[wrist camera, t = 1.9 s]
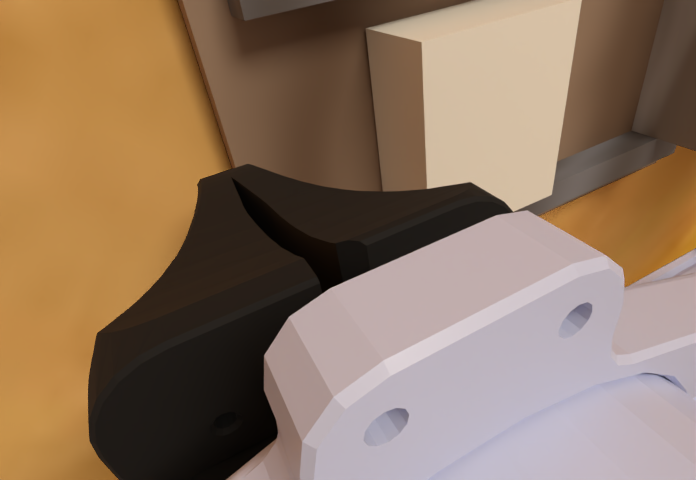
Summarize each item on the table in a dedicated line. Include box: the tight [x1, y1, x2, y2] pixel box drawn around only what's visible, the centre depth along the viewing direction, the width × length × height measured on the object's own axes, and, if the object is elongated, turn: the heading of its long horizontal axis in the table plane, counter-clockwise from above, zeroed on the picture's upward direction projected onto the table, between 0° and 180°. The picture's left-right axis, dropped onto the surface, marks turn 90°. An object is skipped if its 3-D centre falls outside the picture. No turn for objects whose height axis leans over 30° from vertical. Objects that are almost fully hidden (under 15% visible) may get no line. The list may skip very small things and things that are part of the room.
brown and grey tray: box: [178, 0, 696, 216], centre depth 15 cm, size 20×13×4 cm, turn 100°
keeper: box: [366, 0, 582, 212], centre depth 14 cm, size 5×6×3 cm
